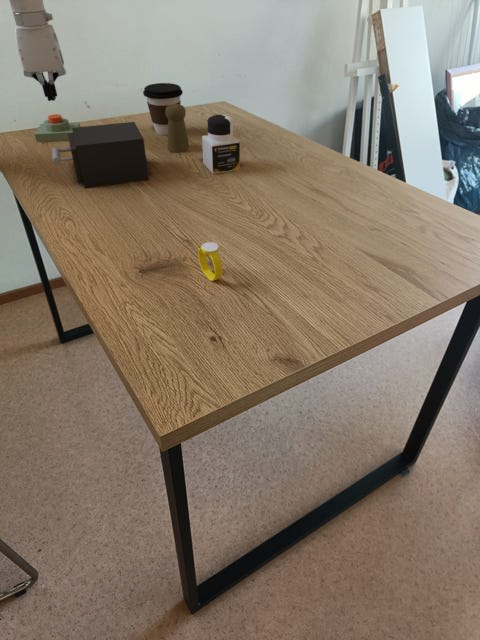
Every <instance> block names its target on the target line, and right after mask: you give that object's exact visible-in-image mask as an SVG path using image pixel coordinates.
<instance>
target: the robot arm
mask: <svg viewBox="0 0 480 640" xmlns="http://www.w3.org/2000/svg"><path fill="white" fill-rule="evenodd" d="M8 2H9V4H10V7H11V11H12V15H13V19H14V21H15V26H14V37H15V42H16V48H17V52H18V58H19V61H20V64H21V67H22V70H23V76H24V77H27V78H32V79H34V80H36V81H37V82H38V83H39V84H40V85H41V87H42V90H43V94H44V97H45V98H47V101H48V102H51V101H52V102H55V101H56V99H57V97H58V92H57V88H56V84H55V82H56V81H57V79H58V78H60V77H62V76H65V75H67V69H66V68H65V61H64V57H63V53H62V50H61V46H60V43H59V40H58V37H57V33H56V32H55V29H54V26H53V25H52V24H50V23H49V22H51V21H53V20H54V16H53V15H54V14H53V13H49V12H47V10H46V9H45V3H44V1H43V0H9V1H8ZM45 73H47V79H48V81H47V79H46V77H45Z"/></svg>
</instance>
